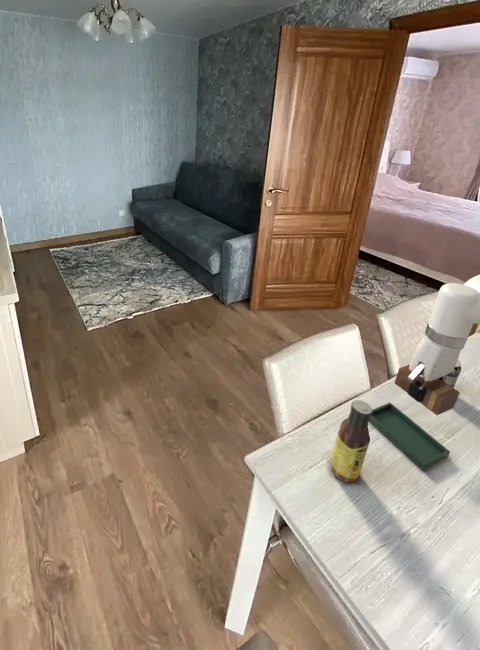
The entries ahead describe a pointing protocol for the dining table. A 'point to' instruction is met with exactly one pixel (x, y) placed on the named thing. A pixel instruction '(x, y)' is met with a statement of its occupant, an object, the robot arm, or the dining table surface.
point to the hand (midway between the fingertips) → (423, 393)
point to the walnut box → (430, 392)
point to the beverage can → (453, 375)
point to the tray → (408, 436)
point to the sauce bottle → (352, 443)
